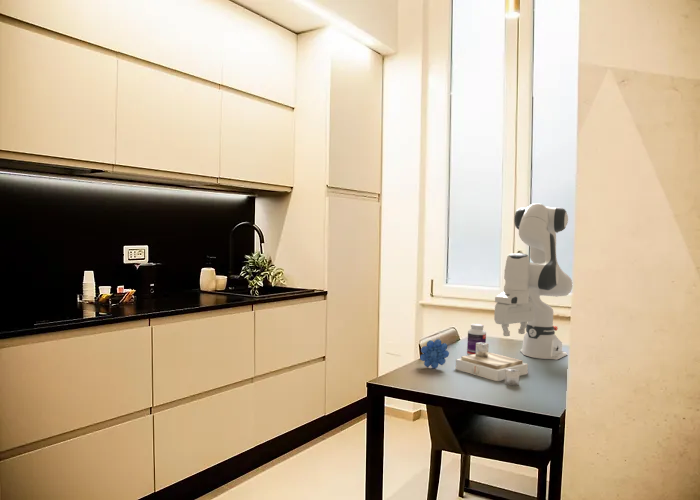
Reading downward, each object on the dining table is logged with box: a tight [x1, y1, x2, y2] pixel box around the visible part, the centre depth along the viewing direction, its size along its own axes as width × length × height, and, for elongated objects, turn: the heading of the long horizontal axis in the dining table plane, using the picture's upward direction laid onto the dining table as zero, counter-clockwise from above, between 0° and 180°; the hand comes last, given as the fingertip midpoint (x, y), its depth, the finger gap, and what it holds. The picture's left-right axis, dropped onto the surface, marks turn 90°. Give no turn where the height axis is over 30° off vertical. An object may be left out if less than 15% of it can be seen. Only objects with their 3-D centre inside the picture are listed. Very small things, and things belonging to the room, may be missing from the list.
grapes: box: [419, 338, 450, 369], centre depth 209 cm, size 12×7×12 cm, turn 71°
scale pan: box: [460, 351, 524, 369], centre depth 206 cm, size 17×17×1 cm
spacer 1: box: [476, 342, 490, 357], centre depth 210 cm, size 5×5×5 cm
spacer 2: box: [504, 369, 520, 387], centre depth 190 cm, size 5×5×5 cm
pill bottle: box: [466, 323, 487, 356], centre depth 232 cm, size 8×8×14 cm
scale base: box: [455, 357, 529, 382], centre depth 206 cm, size 21×20×4 cm
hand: (514, 334), depth 189 cm, fingers open, 8 cm apart
